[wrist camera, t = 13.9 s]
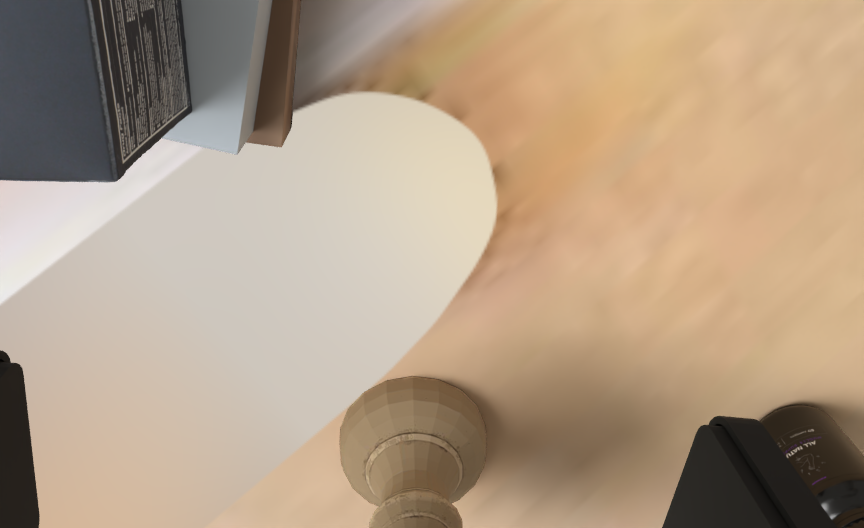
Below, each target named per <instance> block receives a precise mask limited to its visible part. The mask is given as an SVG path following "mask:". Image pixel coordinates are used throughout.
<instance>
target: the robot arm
mask: <svg viewBox="0 0 864 528" xmlns="http://www.w3.org/2000/svg"><path fill="white" fill-rule="evenodd" d="M0 528H39V508H38V499H37V490H36V481H35V473H34V464H33V456H32V446H31V437H30V429H29V420H28V411H27V402H26V393H25V384H24V375H23V370H22V368H21V367H20V365H19V364H17V363H11V362H10V358H9V356H8V355H7V353H5V352H4V351H0ZM662 528H837V526H836V525H835V524H834V522H833V521H832V519H831V518H830V517H829V515H828V514H827V512H826V511H825V510H824V508H823V507H822V506H821V504H820V503H819V501H818V500H817V499H816V497H815V496H814V495H813V493H812V492H811V490H810V489H809V488H808V486H807V485H806V484H805V482H804V481H803V479H802V478H801V477H800V475H799V474H798V473H797V471H796V470H795V468H794V467H793V466H792V464H791V463H790V461H789V460H788V459H787V457H786V456H785V455H784V453H783V452H782V450H781V449H780V448H779V446H778V445H777V444H776V442H775V441H774V439H773V438H772V437H771V435H770V434H769V433H768V431H767V430H766V428H765V427H764V426H763V425H762V424H761V423H760V422H759V421H758V420H755V419H747V418H736V417H725V416H717V417H714V418H713V419H712V420H711V421H710V423H709V425H703V426H701V427H700V428H699V429H698V431H697V433H696V436H695V438H694V441H693V444H692V447H691V450H690V452H689V455H688V458H687V461H686V463H685V466H684V469H683V472H682V475H681V477H680V480H679V483H678V486H677V488H676V491H675V494H674V497H673V499H672V502H671V505H670V508H669V511H668V513H667V516H666V519H665V522H664V524H663V527H662Z"/></svg>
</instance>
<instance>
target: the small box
mask: <svg viewBox="0 0 864 528" xmlns="http://www.w3.org/2000/svg"><path fill="white" fill-rule="evenodd" d="M190 113H192V104H191V92H190V82H189V71H188V63H187V52H186V40H185V34H184V23H183V13H182V4H181V0H0V180H13V181H59V182H116V181H118V180H119V179H120V178H121V177H122V176H123V175H124V174H125V172H126V170H127V169H129V168H130V167H131V166H132V165H133V163H134V162H135V161H136V160H137V159H138V158H140V157H141V156H142V154H144V153H145V152H146V151H147V150H149V149H150V148H151V147H152V146H153V145H154V144H155V143H156V142H158V141H159V140H160V139H161V138H162V137H163V136H164V135H165V134H166V133H168V132H169V130H171V129H172V128H174V127H175V126H176V124H178V123H179V122H180V121H181V120H182V119H184V118H185V117H186V116H188V115H189V114H190Z"/></svg>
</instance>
